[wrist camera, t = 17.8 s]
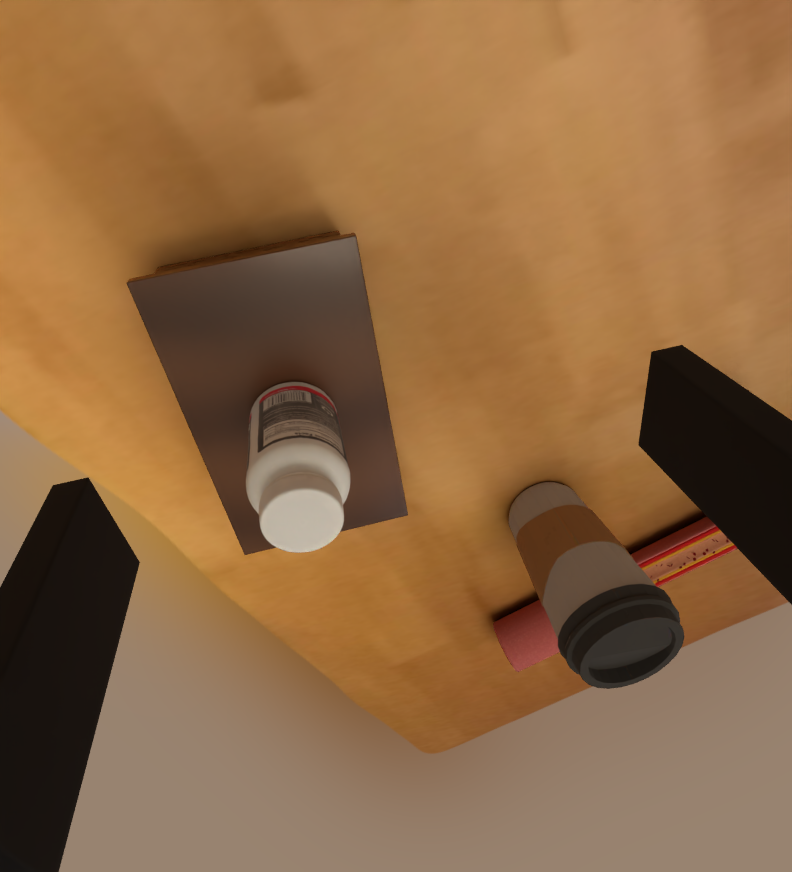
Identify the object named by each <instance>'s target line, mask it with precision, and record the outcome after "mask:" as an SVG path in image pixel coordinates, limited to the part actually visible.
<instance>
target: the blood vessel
mask: <svg viewBox="0 0 792 872" xmlns="http://www.w3.org/2000/svg"><path fill="white" fill-rule="evenodd" d="M736 549H738V548H737V547H736V546H735V545H734V544H733V543H732V542H731V541H730V540H729V539H728V538H727V537H726V536H725V535H724V533H723V532H722V531H721V530H720V529H719V528H718V527H717V526H716V525H715V524H714V523H713V522H712V521H711V520H710V519H709V518H708V517H705V518H703V519H701V520H699V521H697V522H695V523H693V524H691V525H689V526H687V527H685V528H683V529H681V530H679V531H677V532H675V533H673V534H671V535H669V536H667V537H665V538H663V539H661V540H659V541H657V542H654V543H652V544H650V545H648V546H646V547H644V548H642V549H640V550H638V551H636V552H634V553H632V554H630V555H631V556H632V557H633V559H634V561H635V562H636V563H637V564H638V566H639V567H640V568H641V569H642V570H643V571H644V573H645V574H646V575H647V576H648V577H649V578H650V579H651V581H652V582H653V583H654V584H655V585H656V586H657V587H660V586H662V585H664V584H666V583H668V582H670V581H672V580H674V579H676V578H678V577H680V576H682V575H684V574H686V573H688V572H690V571H693V570H695V569H697V568H699V567H701V566H703V565H705V564H707V563H709V562H711V561H713V560H715V559H717V558H719V557H721V556H723V555H725V554H728V553H730V552H732V551H734V550H736ZM493 626H494V631H495V633H496V635H497V638H498V640H499V642H500V645H501V647H502V649H503V651H504V653H505V655H506V656H507V658H508V660H509V662H510V663H511V665H512V666H513V667H514V669H515V670H516V671H518V672H519V671H521V670H523V669H525V668H527V667H529V666H531V665H534V664H536V663H538V662H540V661H542V660H544V659H546V658H548V657H550V656H552V655H554V654H556V653H558V652H560V651H559V648H558V639H557V636H556V634H555V632H554V629H553V627H552V625H551V622H550V620H549V618H548V615H547V613H546V611H545V608H544V607H543V606H542V604H541V602H540V600H538V601H536V602H534V603H532V604H530V605H528V606H526V607H524V608H522V609H520V610H518V611H516V612H513V613H511V614H509V615H507V616H505V617H503V618H501V619H499V620H497V621H495V622H494V623H493Z"/></svg>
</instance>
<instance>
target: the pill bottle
mask: <svg viewBox="0 0 792 872" xmlns="http://www.w3.org/2000/svg"><path fill="white" fill-rule="evenodd" d="M349 489H350V470H349V466H348V461H347V457H346V452H345V447H344V443H343V438H342V433H341V428H340V423H339V418H338V415H337V411H336V408H335V405H334V403H333V402H332V400H331V399H330V398H329V397H328V396H327V395H326V394H325V392H323V391H322V390H321V389H319V388H317V387H315V386H313V385H310V384H307V383H303V382H287V383H282V384H278V385H276V386H273V387H271V388H269V389H268V390H266V391H265V392H263V393H262V394H261V395H260V396H259V397H258V398H257V400H256V401H255V403H254V405H253V407H252V409H251V413H250V419H249V436H248V457H247V471H246V491H247V495H248V499H249V501H250V503H251V505H252V506H253V508H254V509H255V510H256V512H257V513H258V514H259V521H260V528H261V531H262V533H263V535H264V537H265V538H266V540H267V541H268V542H269V543H271V544H272V545H273V546H275V547H277V548H279V549H281V550H284V551H288V552H297V553H300V552H310V551H314V550H317V549H320V548H322V547H324V546H326V545H327V544H329V543H330V542H331V541H332V540H334V539H335V538H336V536H337V535H338V534H339V532H340V531H341V529H342V526H343V523H344V511H343V504H344V502H345V501H346V499H347V496H348V493H349Z"/></svg>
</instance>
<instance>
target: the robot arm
mask: <svg viewBox="0 0 792 872" xmlns="http://www.w3.org/2000/svg"><path fill="white" fill-rule="evenodd" d="M639 446H640V447H641V448H642V449H643V450H644V451H645V452H646V453H647V454H648V455H649V456H650V457H651V458H652V459H653V461H654V462H655V463H656V464H657V465H658V466H659V467H660V468H661V469H662V470H663V471H664V472H665V473H666V474H667V475H668V476H669V477H670V478H671V479H672V480H673V481H674V482H675V483H676V485H677V486H678V487H679V488H680V489H681V490H682V491H683V492H684V493H685V494H686V495H687V496H688V497H689V498H690V499H691V500H692V501H693V502H694V503H695V504H696V505H697V506H698V507H699V508H700V510H701V511H702V512H703V513H704V514H705V515H706V516H707V517H708V518H709V519H710V520H711V521H712V522H713V523H714V524H715V525H716V526H717V527H718V528H719V529H720V530H721V531H722V532H723V533H724V535H725V536H726V537H727V538H728V539H729V540H730V541H731V542H732V543H733V544H734V545H735V546H736V547H737V548H738V549H739V550H740V551H741V552H742V553H743V554H744V555H745V556H746V557H747V559H748V560H749V561H750V562H751V563H752V564H753V565H754V566H755V567H756V568H757V569H758V570H759V571H760V572H761V573H762V574H763V575H764V576H765V577H766V578H767V579H768V580H769V581H770V582H771V584H772V585H773V586H774V587H775V588H776V589H777V590H778V591H779V592H780V593H781V594H782V595H783V596H784V597H785V598H786V599H787V600H788V601H789V602H790V603H791V604H792V421H791V420H790V419H789V418H787V417H786V416H784V415H783V414H781V413H780V412H778V411H777V410H775V409H774V408H773V407H771V406H770V405H768V404H767V403H765V402H764V401H762V400H761V399H759V398H758V397H757V396H755V395H754V394H752V393H751V392H749V391H748V390H746V389H745V388H744V387H742V386H741V385H739V384H738V383H736V382H735V381H733V380H732V379H730V378H729V377H728V376H726V375H725V374H723V373H722V372H720V371H719V370H717V369H716V368H715V367H713V366H712V365H710V364H709V363H707V362H706V361H704V360H703V359H701V358H700V357H699V356H697V355H696V354H694V353H693V352H691V351H690V350H688V349H687V348H686V347H684V346H683V345H680V346H676V347H671V348H667V349H662V350H658V351H653V352H651V359H650V367H649V374H648V381H647V388H646V395H645V402H644V409H643V416H642V423H641V430H640V437H639ZM139 563H140V562H139V560H138V559H137V557H136V555H135V554H134V552H133V550H132V549H131V547H130V545H129V544H128V542H127V540H126V539H125V537H124V536H123V534H122V532H121V531H120V529H119V527H118V526H117V524H116V522H115V521H114V519H113V517H112V516H111V514H110V512H109V511H108V509H107V507H106V506H105V504H104V502H103V501H102V499H101V497H100V496H99V494H98V493H97V491H96V490H95V488H94V486H93V484H92V483H91V481H90V479H89V478H84V479H80V480H75V481H70V482H67V483H61V484H57V485H53V486H52V488H51V490H50V492H49V494H48V496H47V498H46V500H45V502H44V504H43V506H42V507H41V510H40V511H39V513H38V515H37V517H36V519H35V521H34V523H33V525H32V527H31V529H30V531H29V533H28V535H27V537H26V539H25V541H24V542H23V544H22V546H21V548H20V550H19V552H18V554H17V556H16V558H15V560H14V562H13V564H12V566H11V568H10V570H9V572H8V574H7V575H6V577H5V579H4V581H3V583H2V585H1V587H0V872H59V868H60V864H61V860H62V856H63V852H64V849H65V845H66V841H67V837H68V833H69V829H70V825H71V822H72V818H73V814H74V811H75V807H76V803H77V799H78V795H79V791H80V788H81V784H82V780H83V776H84V773H85V769H86V765H87V761H88V757H89V754H90V749H91V746H92V742H93V738H94V734H95V730H96V727H97V723H98V719H99V715H100V712H101V707H102V704H103V700H104V696H105V693H106V688H107V685H108V681H109V677H110V674H111V670H112V666H113V662H114V658H115V654H116V651H117V647H118V643H119V639H120V635H121V631H122V628H123V624H124V620H125V616H126V612H127V609H128V605H129V601H130V597H131V593H132V590H133V586H134V582H135V578H136V574H137V571H138V567H139Z"/></svg>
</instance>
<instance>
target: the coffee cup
mask: <svg viewBox="0 0 792 872" xmlns="http://www.w3.org/2000/svg"><path fill="white" fill-rule="evenodd" d="M509 526H510V529H511V531H512V533H513V536H514V538H515V540H516V543H517V547H518V550H519V552H520V554H521V557H522V559H523V561H524V564H525V566H526V569H527V571H528V573H529V576H530V578H531V580H532V583H533V585H534V587H535V590H536V592H537V595H538V597H539V599H540V602H541V604H542V606H543V607H544V608H545V611H546V613H547V615H548V618H549V620H550V622H551V625H552V627H553V629H554V632H555V634H556V636H557V639H558V648H559V651H560V653H561V655H562V656H563V657H564V658H565V659H566V661H567V663H568V665H569V667H570V668H571V669H572V670H573V671H574V672H576V673H577V674H579V675H580V676H581V677H582V679H583V680H584V681H585V682H586V683H588V684H589V685H591V686H594V687H597V688H607V689H609V688H618V687H623V686H627V685H630V684H634V683H637V682H639V681H641V680H644V679H646V678H648V677H649V676H651V675H653V674H655V673H656V672H658V671H659V670H661V669H662V668H663V667H665V666H666V665H667V664H668V663H669V662H670V661H671V660H672V659H673V658H674V657H675V656H676V655H677V653H678V651H679V650H680V648H681V647H682V644H683V640H684V632H683V628H682V626H681V625H680V618H679V612H678V611H677V609H676V608H675V607H674V605H673V604H672V602H671V599H670V597H669V596H668V595H667V594H666V592H665V591H664V590H662V589H660V588H658V587H657V586H656V585H655V584H654V583H653V582H652V581H651V579H650V578H649V577H648V576H647V575H646V574H645V573H644V571H643V570H642V569H641V568H640V567H639V566H638V564H637V563H636V562H635V561H634V559H633V557H632V556H631V555H630V554H629V552H628V551H627V550H626V549H625V548H624V546H623V545H622V544H621V543H620V542H619V541H618V540H617V539H616V537H615V536H614V535H613V534H612V533H611V532H610V531H609V529H608V528H607V527H606V526H605V525H604V524H603V523H602V521H601V520H600V519H599V518H598V517H597V516H596V515H595V513H594V512H593V511H592V510H590V509H589V508H588V507H587V506H586V505H585V504H584V502H583V501H582V500H581V499H580V498H579V497H578V496H577V494H576V493H575V492H574V491H573V490H572V489H571V488H569V487H567V486H565V485H562V484H560V483H555V482H544V483H540V484H536V485H534V486H532V487H529V488H528V489H526V490H525V491H523V492H522V493H521V494H520V495H519V496H518V497H517V498H516V499H515V501H514V502H513V504H512V505H511V509H510V512H509Z"/></svg>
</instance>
